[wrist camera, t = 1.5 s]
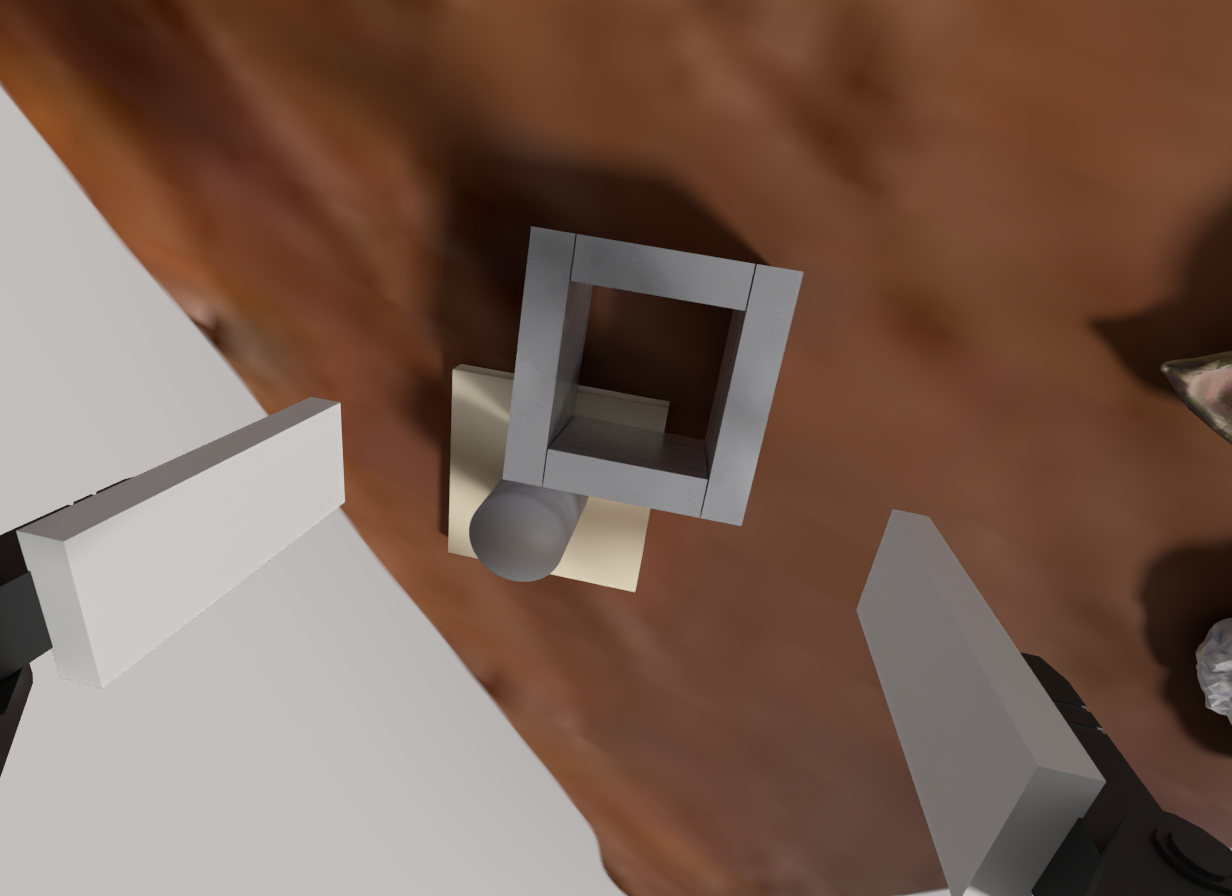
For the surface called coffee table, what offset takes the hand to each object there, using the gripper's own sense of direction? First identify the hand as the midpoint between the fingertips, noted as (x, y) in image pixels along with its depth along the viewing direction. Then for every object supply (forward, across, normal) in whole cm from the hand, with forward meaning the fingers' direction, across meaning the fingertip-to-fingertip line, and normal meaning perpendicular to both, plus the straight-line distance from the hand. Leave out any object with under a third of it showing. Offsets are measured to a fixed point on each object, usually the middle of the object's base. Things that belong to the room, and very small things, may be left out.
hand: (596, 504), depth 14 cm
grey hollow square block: (+13, 0, 0) cm, 13 cm away
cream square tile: (+14, -4, -6) cm, 16 cm away
